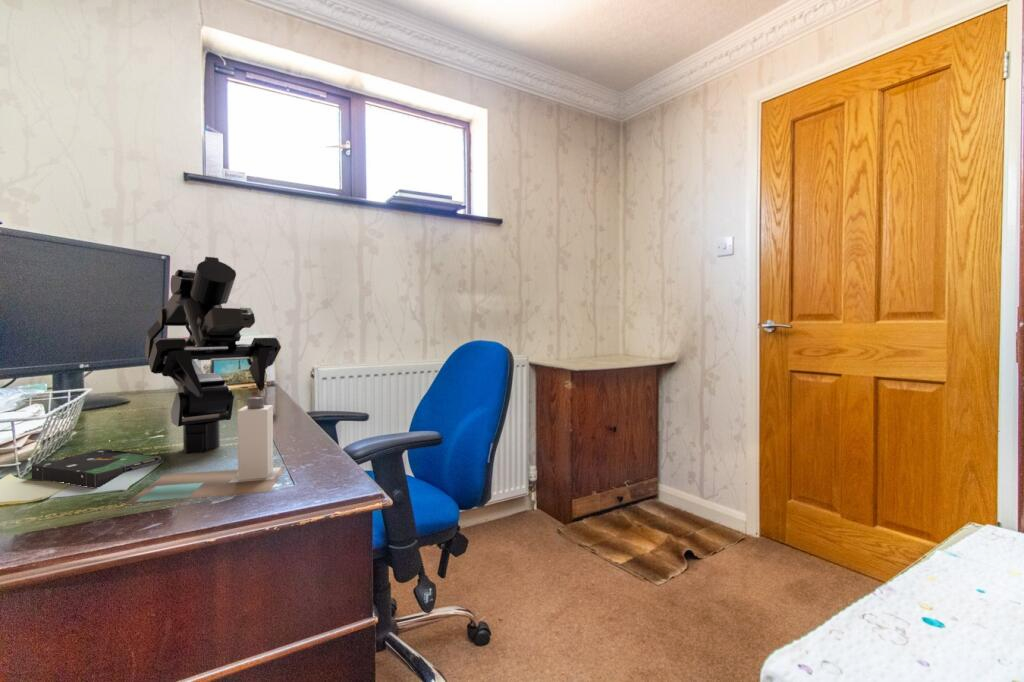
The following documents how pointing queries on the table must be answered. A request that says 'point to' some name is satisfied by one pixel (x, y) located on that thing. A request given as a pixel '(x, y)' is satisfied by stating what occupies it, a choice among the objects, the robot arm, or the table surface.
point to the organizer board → (204, 486)
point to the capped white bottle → (255, 439)
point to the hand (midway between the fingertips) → (233, 392)
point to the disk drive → (92, 467)
